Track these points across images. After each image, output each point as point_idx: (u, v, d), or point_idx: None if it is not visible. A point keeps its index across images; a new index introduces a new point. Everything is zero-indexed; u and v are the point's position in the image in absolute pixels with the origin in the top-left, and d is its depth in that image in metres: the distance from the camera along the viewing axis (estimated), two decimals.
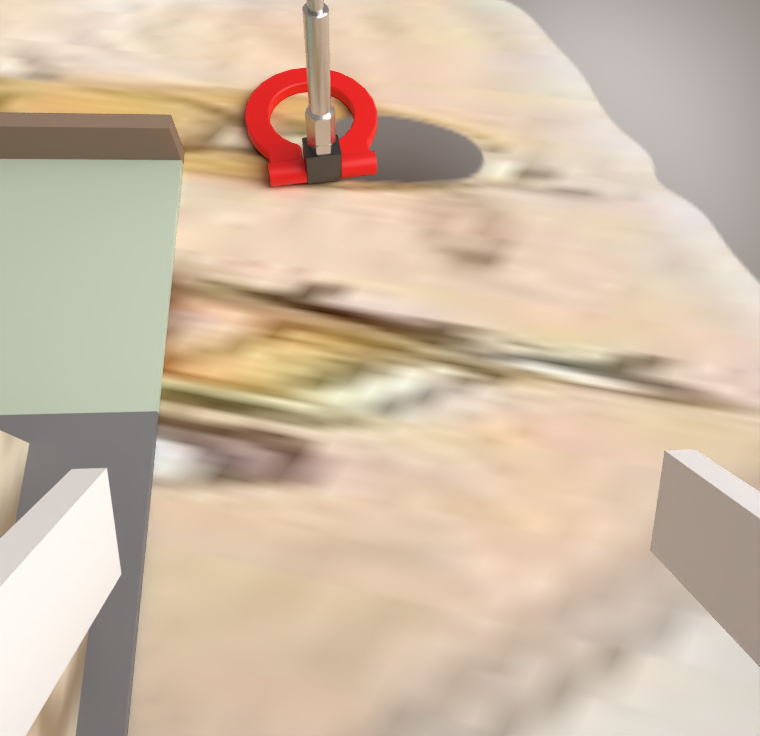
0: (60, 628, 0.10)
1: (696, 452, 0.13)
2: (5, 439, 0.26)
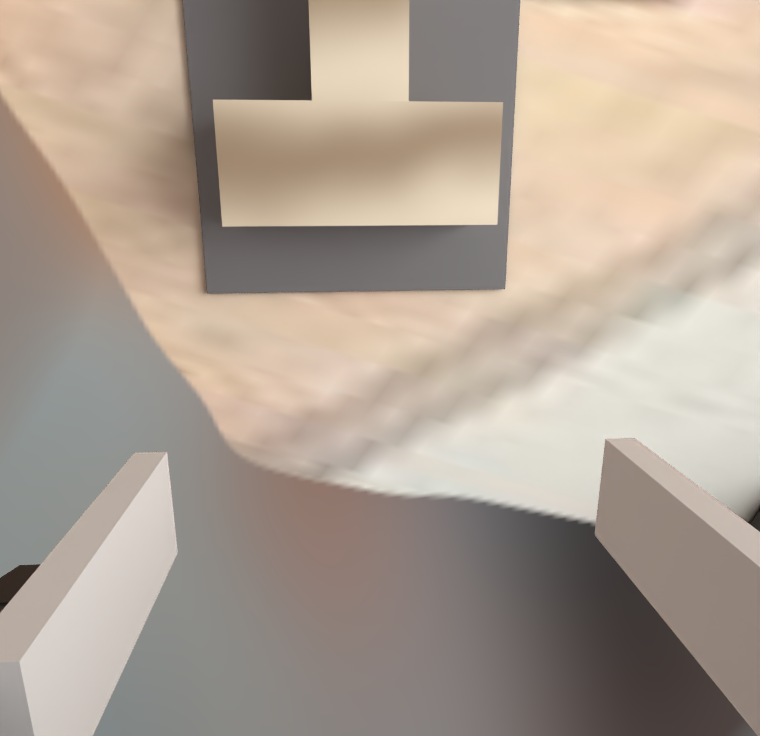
0: (136, 597, 0.11)
1: (635, 440, 0.14)
2: None
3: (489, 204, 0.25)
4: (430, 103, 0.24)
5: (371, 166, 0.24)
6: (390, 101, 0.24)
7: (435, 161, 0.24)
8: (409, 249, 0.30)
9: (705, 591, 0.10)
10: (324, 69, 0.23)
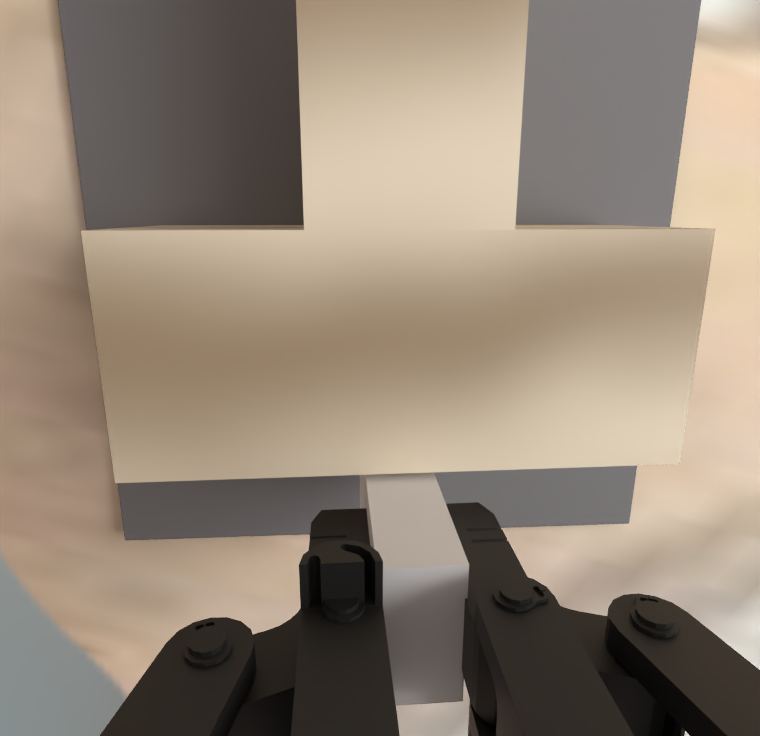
0: None
1: None
2: None
3: (667, 427, 0.12)
4: (561, 233, 0.11)
5: (430, 360, 0.11)
6: (475, 229, 0.11)
7: (565, 347, 0.11)
8: None
9: None
10: (333, 164, 0.10)
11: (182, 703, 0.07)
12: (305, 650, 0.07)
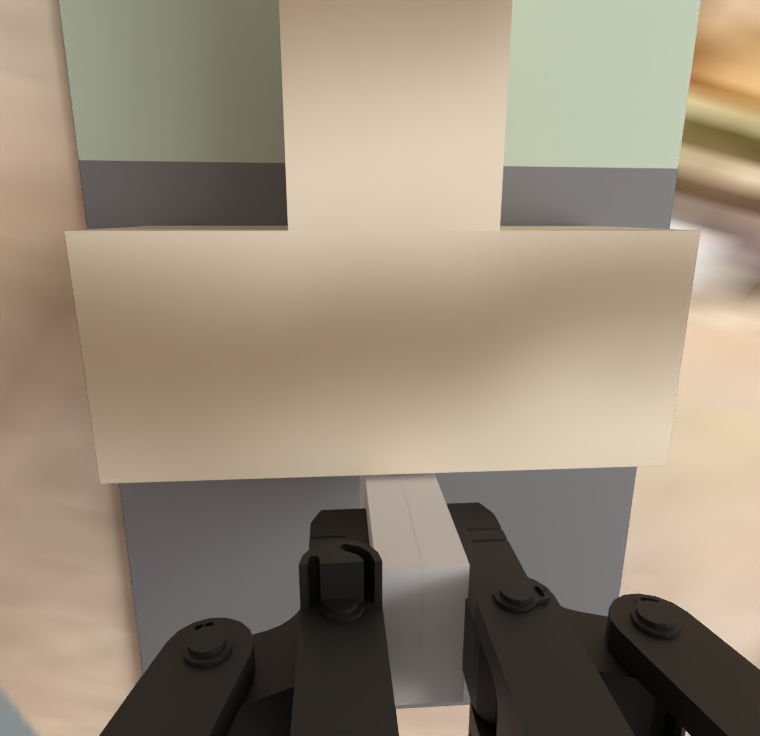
0: None
1: None
2: None
3: (654, 429, 0.12)
4: (546, 234, 0.11)
5: (415, 361, 0.11)
6: (459, 230, 0.11)
7: (550, 349, 0.11)
8: None
9: None
10: (316, 165, 0.10)
11: (181, 703, 0.07)
12: (305, 650, 0.07)
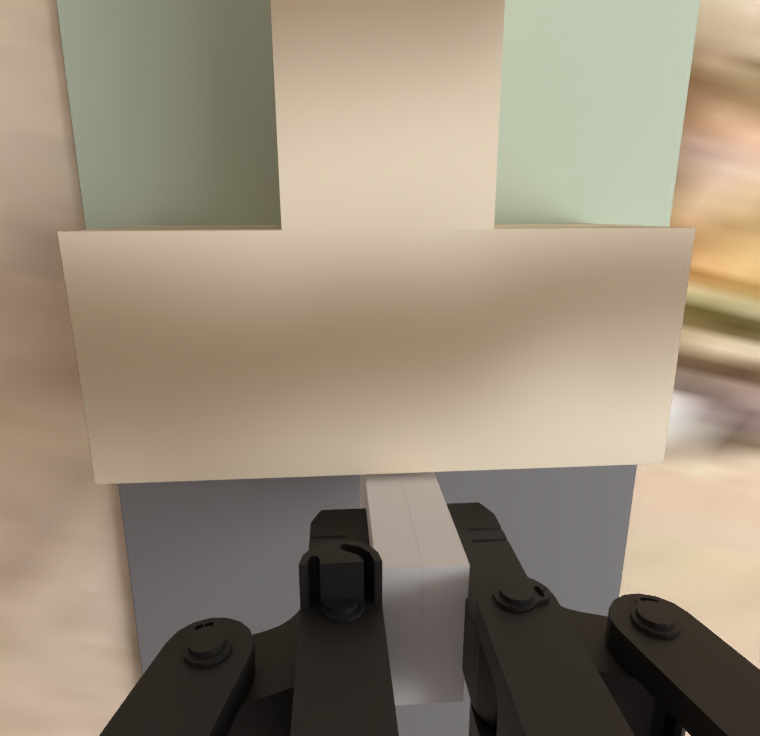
0: None
1: None
2: None
3: (650, 426, 0.12)
4: (540, 232, 0.11)
5: (410, 361, 0.11)
6: (454, 229, 0.11)
7: (545, 347, 0.11)
8: None
9: None
10: (310, 164, 0.10)
11: (181, 703, 0.07)
12: (305, 650, 0.07)
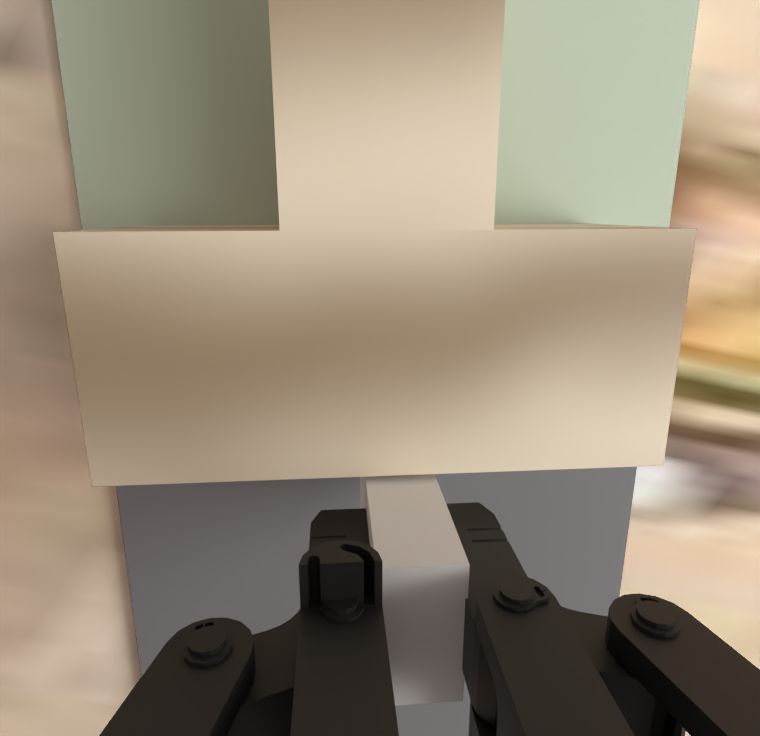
0: None
1: None
2: None
3: (650, 428, 0.12)
4: (541, 233, 0.11)
5: (409, 361, 0.11)
6: (453, 229, 0.11)
7: (546, 349, 0.11)
8: None
9: None
10: (308, 164, 0.10)
11: (181, 703, 0.07)
12: (305, 650, 0.07)
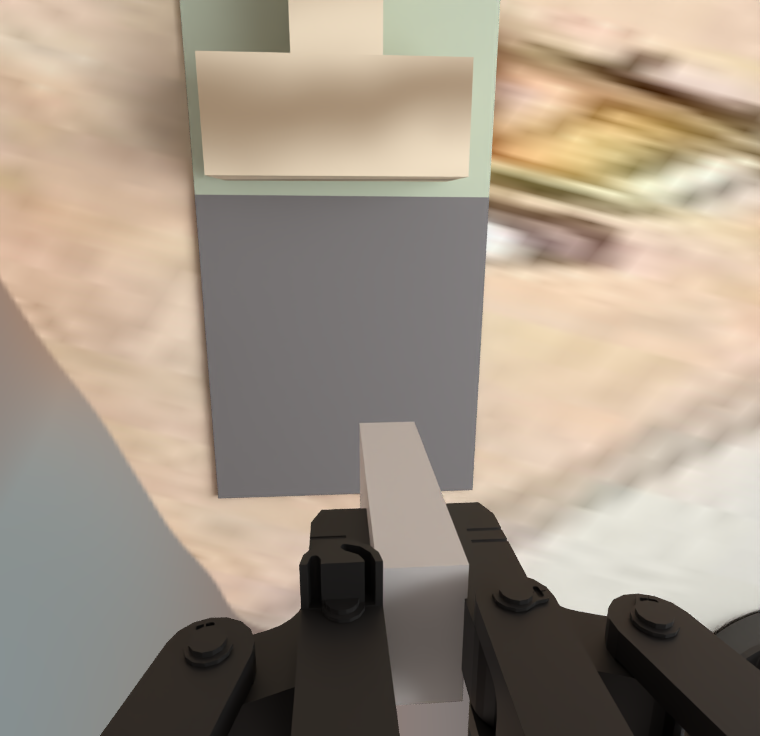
0: None
1: (412, 423, 0.15)
2: None
3: (461, 156, 0.26)
4: (404, 57, 0.25)
5: (347, 117, 0.25)
6: (365, 54, 0.25)
7: (409, 113, 0.25)
8: None
9: None
10: (302, 22, 0.24)
11: (182, 703, 0.07)
12: (305, 650, 0.07)
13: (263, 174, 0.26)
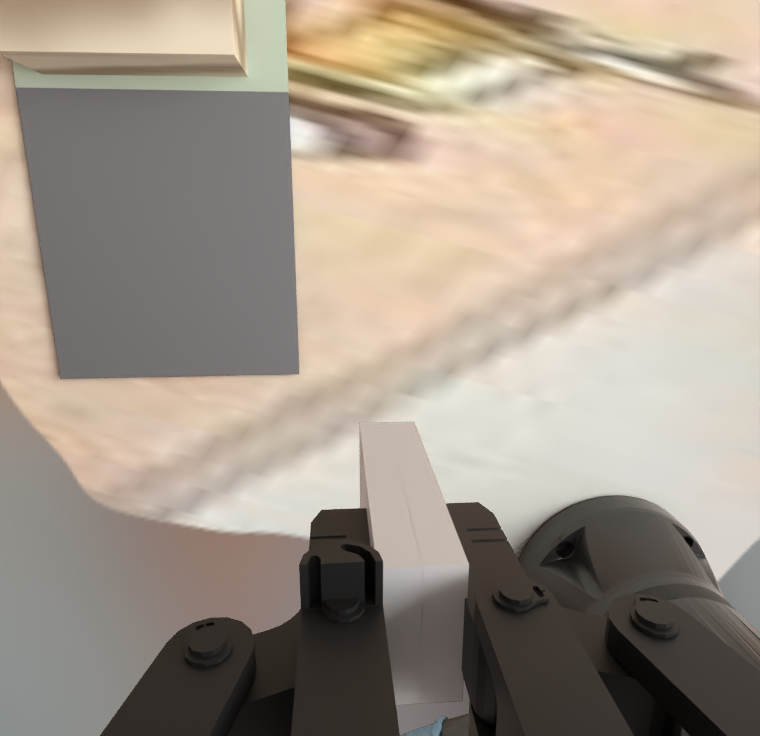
0: None
1: (412, 423, 0.15)
2: None
3: (225, 35, 0.29)
4: None
5: None
6: None
7: None
8: (219, 344, 0.38)
9: None
10: None
11: (182, 703, 0.07)
12: (306, 650, 0.07)
13: (46, 50, 0.29)
